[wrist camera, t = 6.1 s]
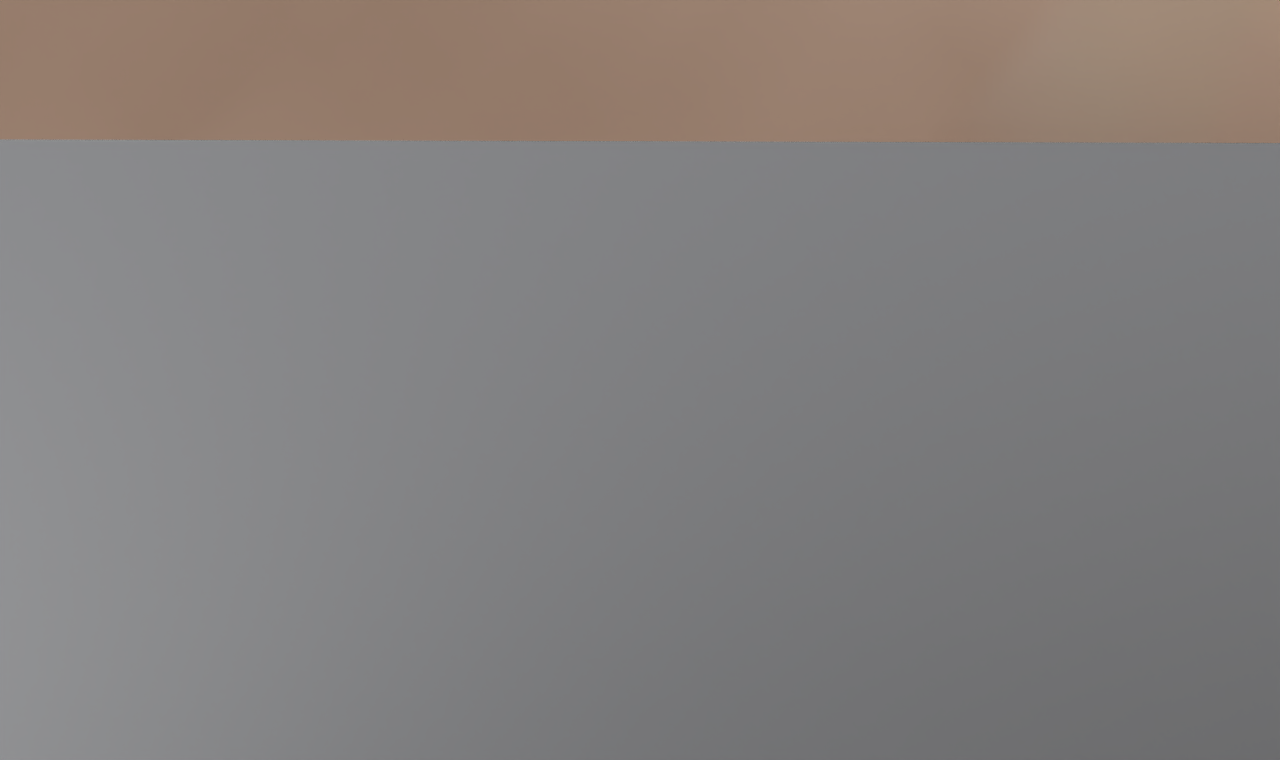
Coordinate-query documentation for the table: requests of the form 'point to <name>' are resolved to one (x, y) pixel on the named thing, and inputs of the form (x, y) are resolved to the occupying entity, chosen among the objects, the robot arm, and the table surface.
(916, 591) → the pillar
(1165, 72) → the table surface
